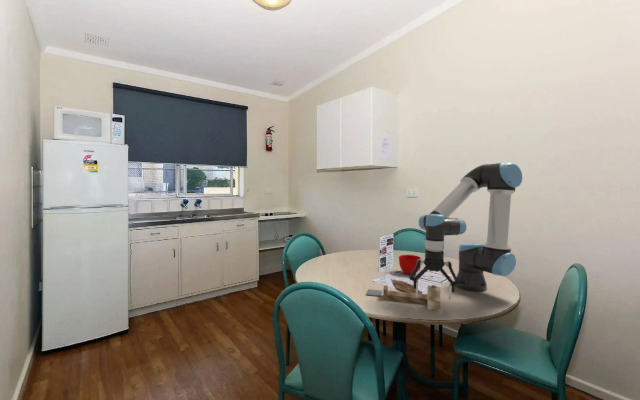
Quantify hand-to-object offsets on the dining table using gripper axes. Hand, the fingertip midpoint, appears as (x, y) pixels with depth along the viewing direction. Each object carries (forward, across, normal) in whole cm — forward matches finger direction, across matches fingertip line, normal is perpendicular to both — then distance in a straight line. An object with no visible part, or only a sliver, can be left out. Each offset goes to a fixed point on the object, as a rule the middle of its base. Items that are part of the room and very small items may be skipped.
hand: (433, 297), depth 127 cm
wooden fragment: (+5, +13, -24) cm, 28 cm away
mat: (+5, +27, -10) cm, 29 cm away
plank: (+5, +10, -7) cm, 13 cm away
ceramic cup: (+4, +9, -49) cm, 50 cm away
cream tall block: (+5, 0, 0) cm, 5 cm away
